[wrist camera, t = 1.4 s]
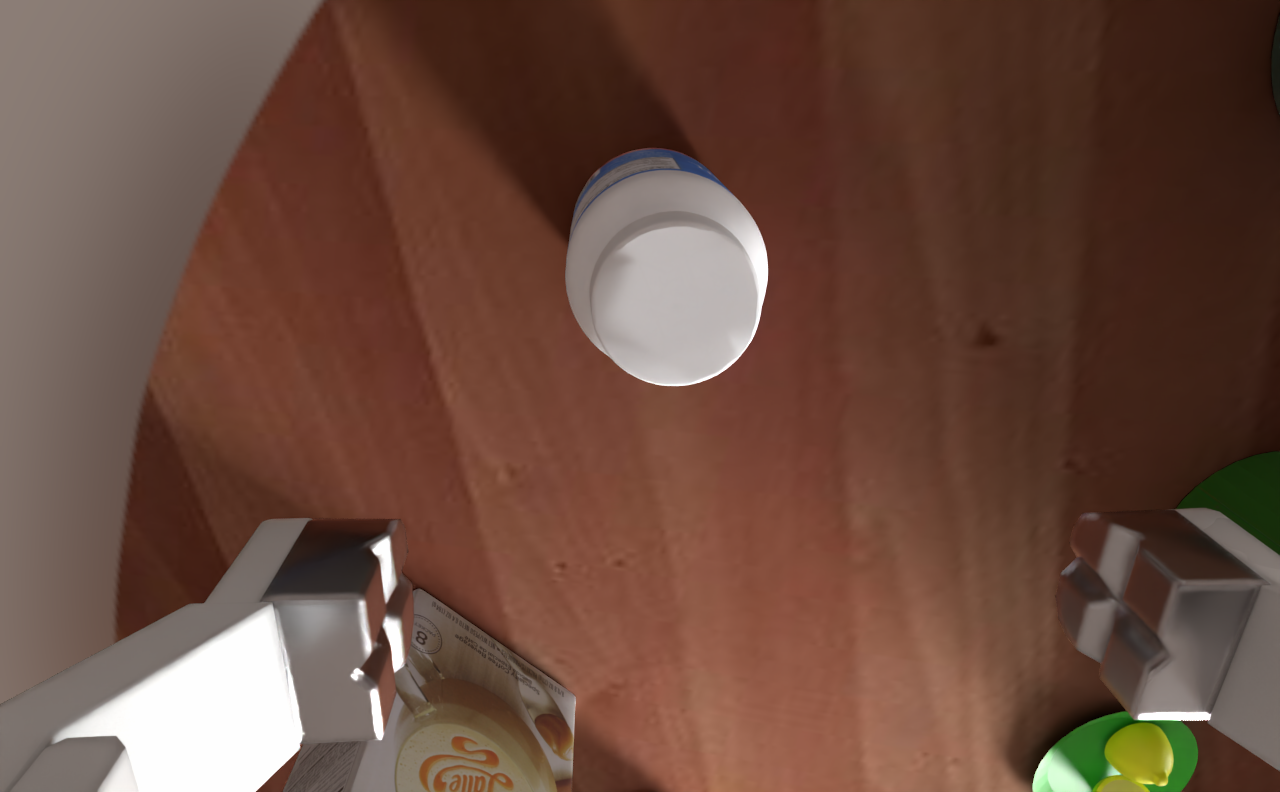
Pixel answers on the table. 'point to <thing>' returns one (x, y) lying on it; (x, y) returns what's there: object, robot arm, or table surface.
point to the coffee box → (455, 722)
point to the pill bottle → (665, 268)
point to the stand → (1276, 66)
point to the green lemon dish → (1120, 757)
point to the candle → (1245, 496)
